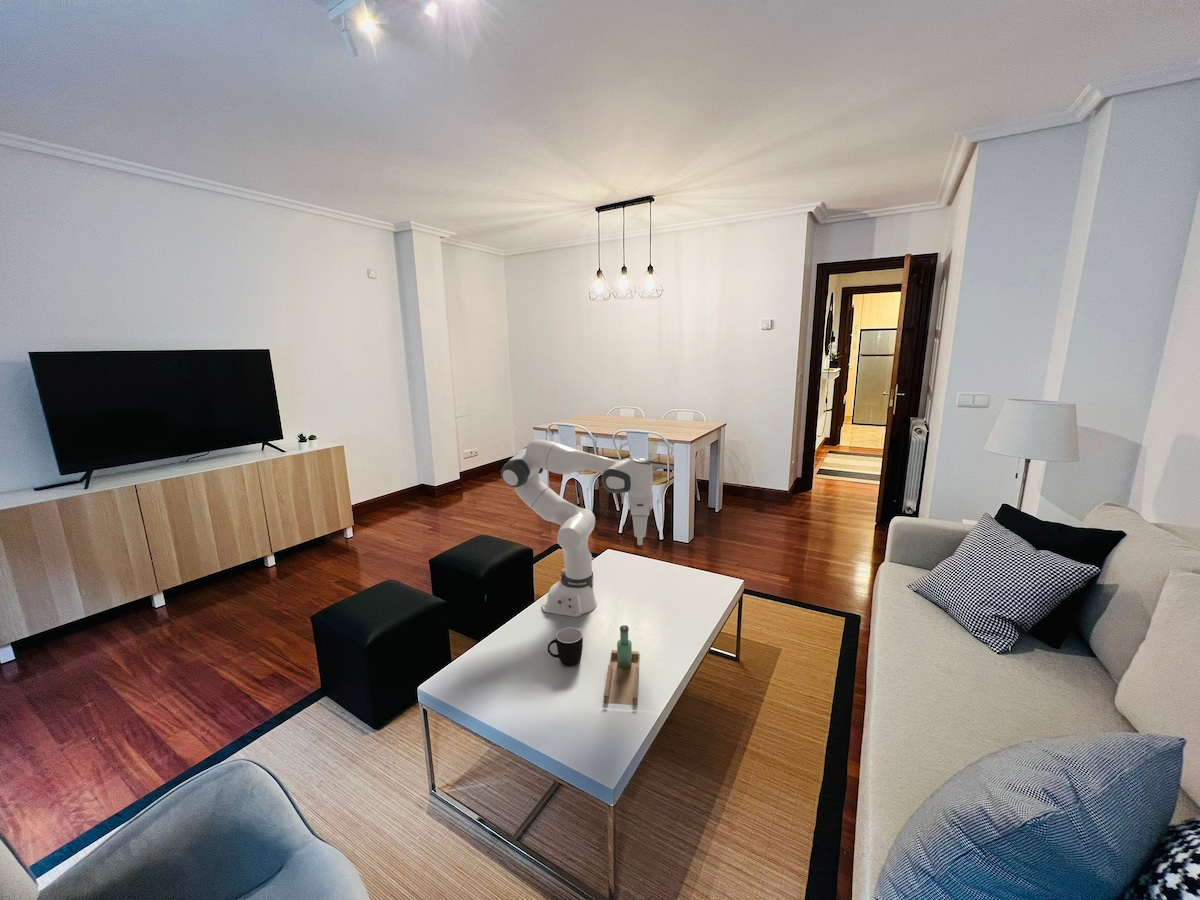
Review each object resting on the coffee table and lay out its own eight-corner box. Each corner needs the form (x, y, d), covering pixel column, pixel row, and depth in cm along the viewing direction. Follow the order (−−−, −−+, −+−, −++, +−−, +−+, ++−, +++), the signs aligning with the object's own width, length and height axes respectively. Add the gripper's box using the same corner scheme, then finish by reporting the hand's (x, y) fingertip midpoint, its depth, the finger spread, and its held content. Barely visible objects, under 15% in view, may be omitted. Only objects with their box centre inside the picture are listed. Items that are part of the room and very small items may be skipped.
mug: (582, 651, 168) (582, 626, 166) (584, 668, 160) (583, 642, 157) (548, 654, 167) (547, 628, 165) (547, 671, 159) (546, 644, 156)
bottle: (616, 668, 159) (616, 631, 156) (617, 659, 164) (617, 623, 161) (631, 669, 158) (631, 632, 155) (631, 660, 163) (631, 624, 160)
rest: (603, 703, 144) (603, 695, 144) (611, 652, 167) (611, 646, 167) (637, 705, 143) (637, 697, 142) (639, 654, 166) (640, 647, 166)
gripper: (632, 493, 181) (632, 527, 184) (630, 512, 161) (630, 550, 164) (649, 493, 180) (648, 528, 183) (649, 512, 160) (649, 551, 163)
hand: (640, 539), depth 173 cm, fingers open, 8 cm apart
